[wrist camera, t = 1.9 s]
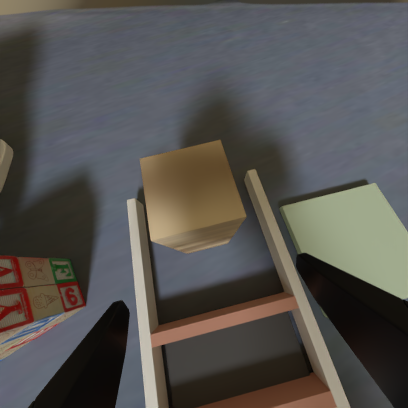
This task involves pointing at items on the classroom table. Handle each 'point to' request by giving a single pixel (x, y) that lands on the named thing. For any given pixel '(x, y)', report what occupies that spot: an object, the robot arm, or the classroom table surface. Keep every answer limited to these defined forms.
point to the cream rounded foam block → (4, 161)
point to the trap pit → (240, 359)
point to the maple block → (191, 198)
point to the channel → (288, 277)
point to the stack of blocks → (34, 298)
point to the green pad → (353, 236)
